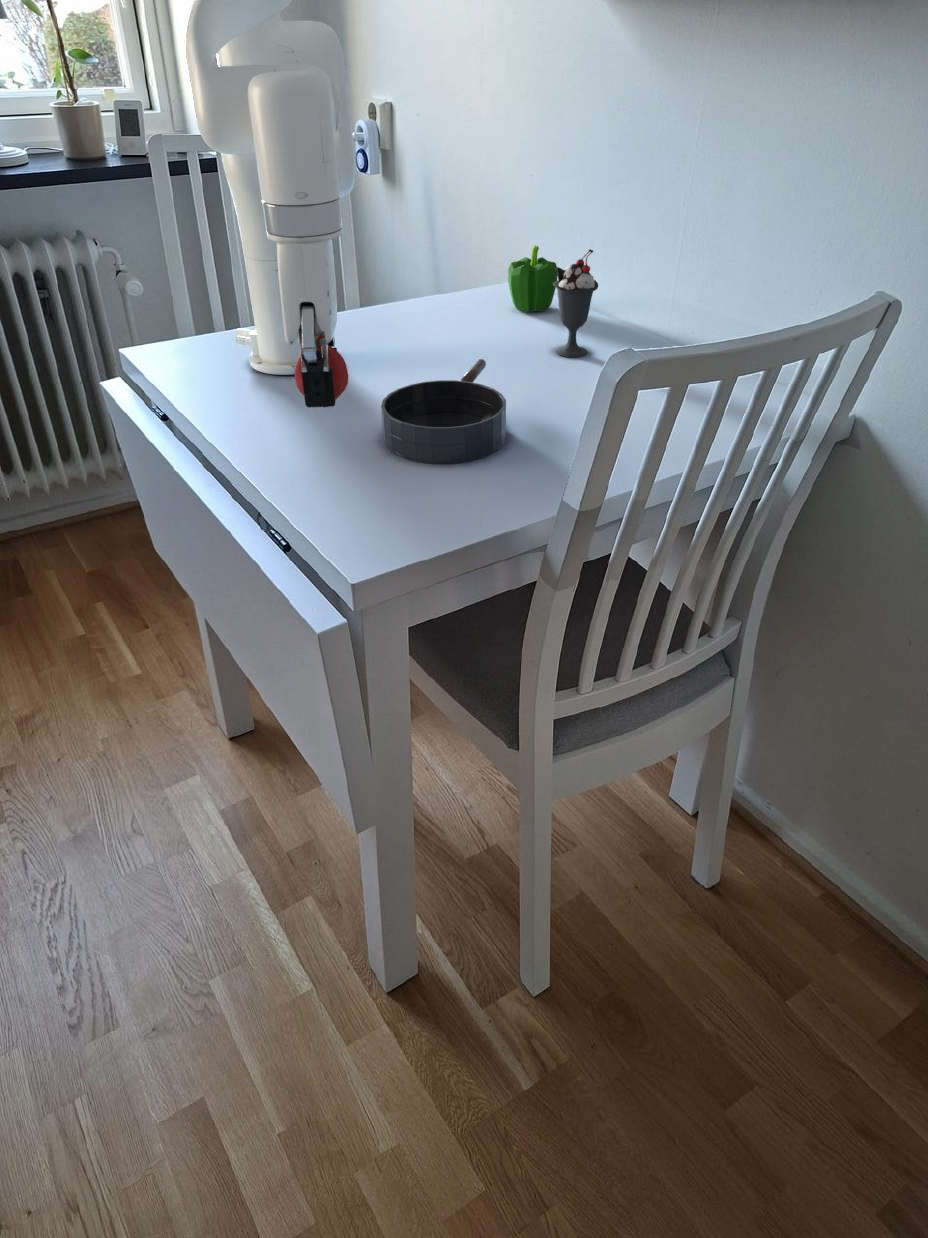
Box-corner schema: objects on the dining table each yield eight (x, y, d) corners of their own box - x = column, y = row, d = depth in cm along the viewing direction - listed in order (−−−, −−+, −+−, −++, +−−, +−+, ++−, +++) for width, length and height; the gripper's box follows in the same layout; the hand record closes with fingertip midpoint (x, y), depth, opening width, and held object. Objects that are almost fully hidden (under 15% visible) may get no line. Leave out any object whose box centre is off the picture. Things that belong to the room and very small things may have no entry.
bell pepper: (541, 319, 147) (544, 256, 141) (500, 311, 150) (500, 250, 144) (564, 306, 152) (568, 245, 146) (524, 299, 156) (525, 240, 150)
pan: (365, 455, 104) (362, 420, 102) (408, 408, 116) (407, 375, 114) (486, 470, 101) (486, 434, 98) (518, 420, 112) (519, 386, 110)
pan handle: (467, 392, 112) (466, 382, 111) (456, 391, 112) (456, 381, 112) (487, 367, 119) (487, 357, 119) (477, 367, 120) (477, 357, 119)
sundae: (600, 356, 131) (609, 251, 123) (559, 361, 130) (564, 255, 121) (583, 342, 136) (590, 241, 128) (543, 347, 135) (547, 245, 126)
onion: (341, 418, 94) (334, 345, 90) (291, 415, 95) (281, 343, 91) (357, 398, 99) (351, 328, 94) (309, 395, 100) (300, 325, 95)
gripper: (276, 203, 93) (297, 368, 103) (252, 240, 79) (279, 426, 89) (346, 201, 93) (361, 366, 103) (335, 237, 79) (352, 424, 89)
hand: (323, 392), depth 96 cm, fingers closed on onion, 6 cm apart
